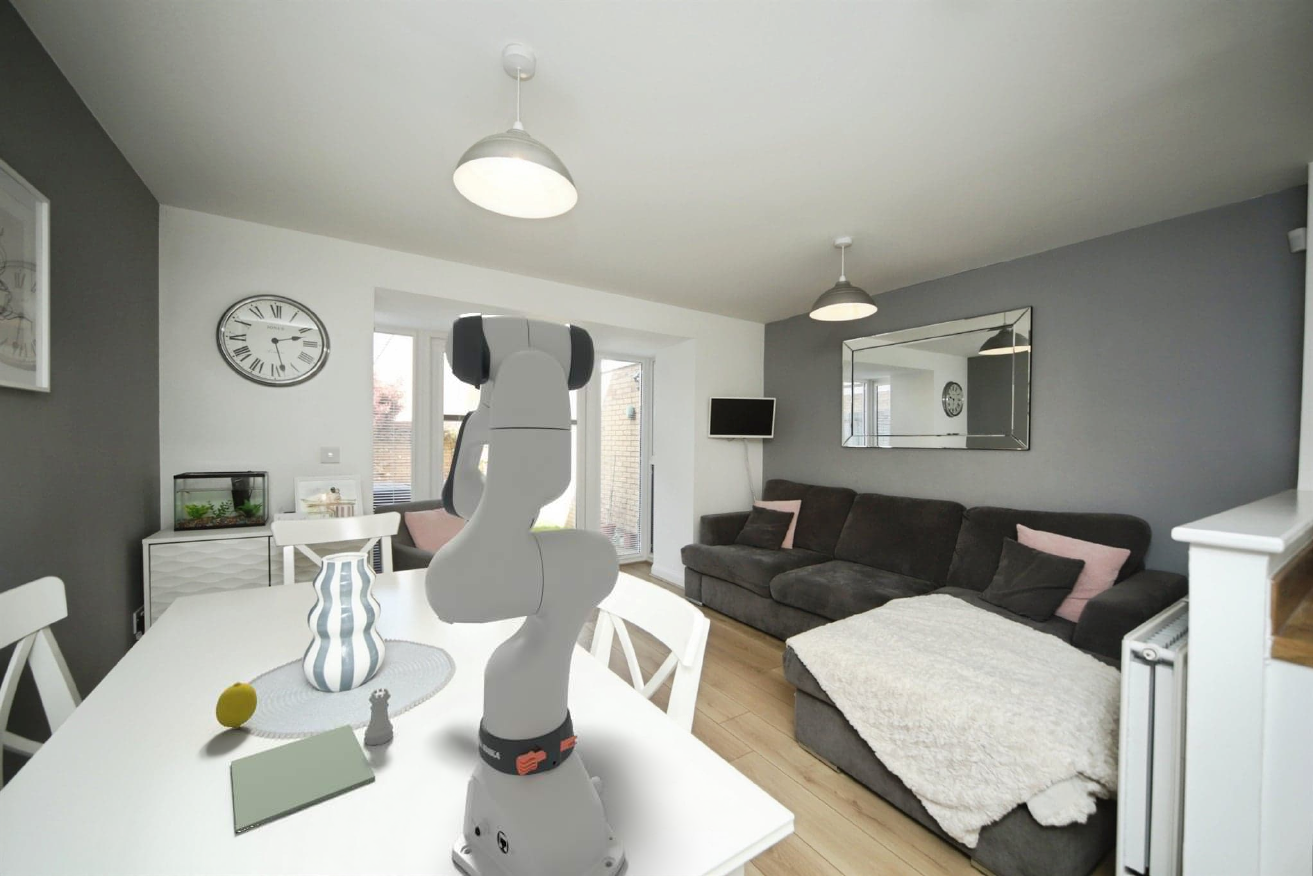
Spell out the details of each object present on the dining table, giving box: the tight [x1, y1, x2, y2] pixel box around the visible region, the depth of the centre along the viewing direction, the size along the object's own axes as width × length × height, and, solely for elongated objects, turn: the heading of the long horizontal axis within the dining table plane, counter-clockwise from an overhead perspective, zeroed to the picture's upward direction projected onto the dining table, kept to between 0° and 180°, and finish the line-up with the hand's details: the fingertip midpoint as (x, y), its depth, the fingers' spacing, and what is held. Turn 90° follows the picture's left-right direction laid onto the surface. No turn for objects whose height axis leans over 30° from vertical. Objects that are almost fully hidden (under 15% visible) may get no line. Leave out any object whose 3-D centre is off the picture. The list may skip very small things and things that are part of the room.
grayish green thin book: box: [230, 724, 376, 833], centre depth 76 cm, size 18×16×1 cm
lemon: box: [215, 681, 258, 730], centre depth 87 cm, size 6×6×8 cm
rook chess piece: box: [363, 687, 394, 746], centre depth 85 cm, size 4×4×8 cm
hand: (444, 621), depth 96 cm, fingers closed
